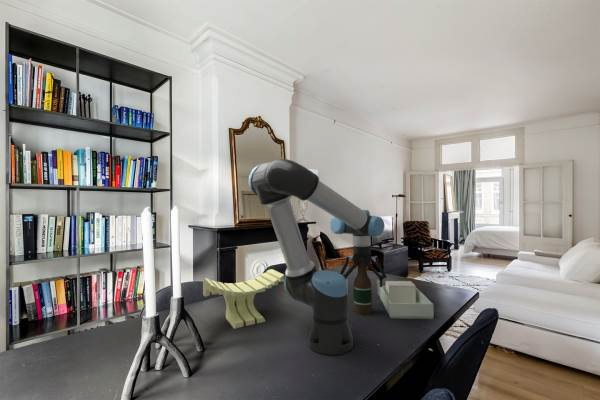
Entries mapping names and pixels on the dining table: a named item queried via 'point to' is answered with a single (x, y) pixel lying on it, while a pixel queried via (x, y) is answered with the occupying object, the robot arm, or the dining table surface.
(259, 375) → the dining table surface
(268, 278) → the slatted curved stool
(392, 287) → the off-white rectangular block
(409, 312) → the tote
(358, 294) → the beer bottle
